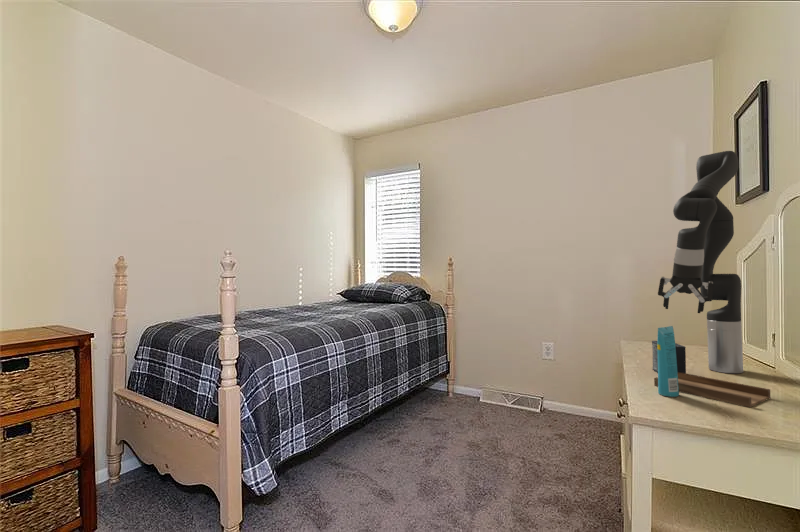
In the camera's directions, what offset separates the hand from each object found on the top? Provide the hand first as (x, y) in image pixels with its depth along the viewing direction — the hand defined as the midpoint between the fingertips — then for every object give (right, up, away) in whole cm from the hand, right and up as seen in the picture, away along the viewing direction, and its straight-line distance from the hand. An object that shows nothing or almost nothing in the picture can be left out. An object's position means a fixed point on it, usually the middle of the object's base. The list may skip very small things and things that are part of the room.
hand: (682, 310), depth 129 cm
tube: (-16, -22, -17) cm, 32 cm away
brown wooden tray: (-3, -22, -15) cm, 27 cm away
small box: (-1, -22, +4) cm, 23 cm away
